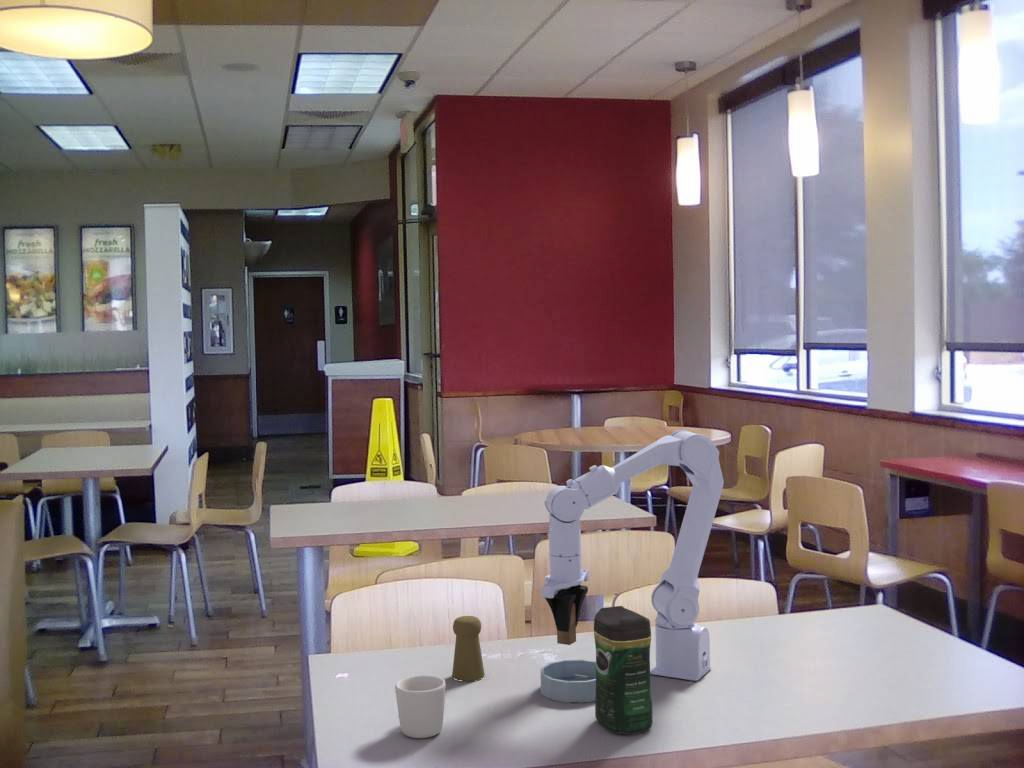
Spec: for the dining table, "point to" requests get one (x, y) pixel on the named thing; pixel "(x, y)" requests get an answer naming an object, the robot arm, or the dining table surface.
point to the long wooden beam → (568, 636)
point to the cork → (467, 649)
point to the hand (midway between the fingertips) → (567, 628)
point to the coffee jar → (623, 670)
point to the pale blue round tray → (569, 680)
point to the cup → (421, 705)
